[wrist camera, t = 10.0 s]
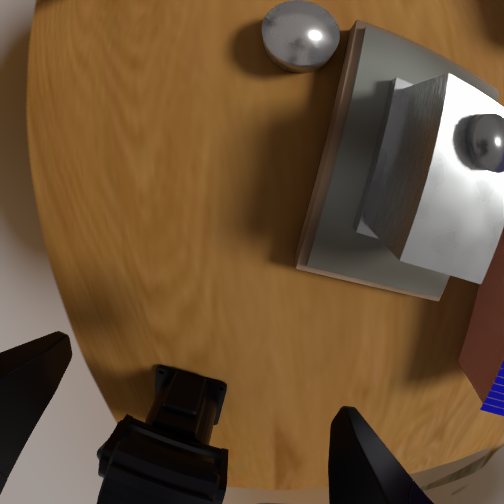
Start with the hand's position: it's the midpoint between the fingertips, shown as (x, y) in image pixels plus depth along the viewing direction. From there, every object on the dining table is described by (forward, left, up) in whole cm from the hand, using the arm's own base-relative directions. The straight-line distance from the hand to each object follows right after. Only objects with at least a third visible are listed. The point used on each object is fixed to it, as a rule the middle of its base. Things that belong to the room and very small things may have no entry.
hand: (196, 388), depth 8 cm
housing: (+8, -9, -10) cm, 16 cm away
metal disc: (+14, 0, -13) cm, 19 cm away
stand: (+8, -9, -13) cm, 18 cm away
